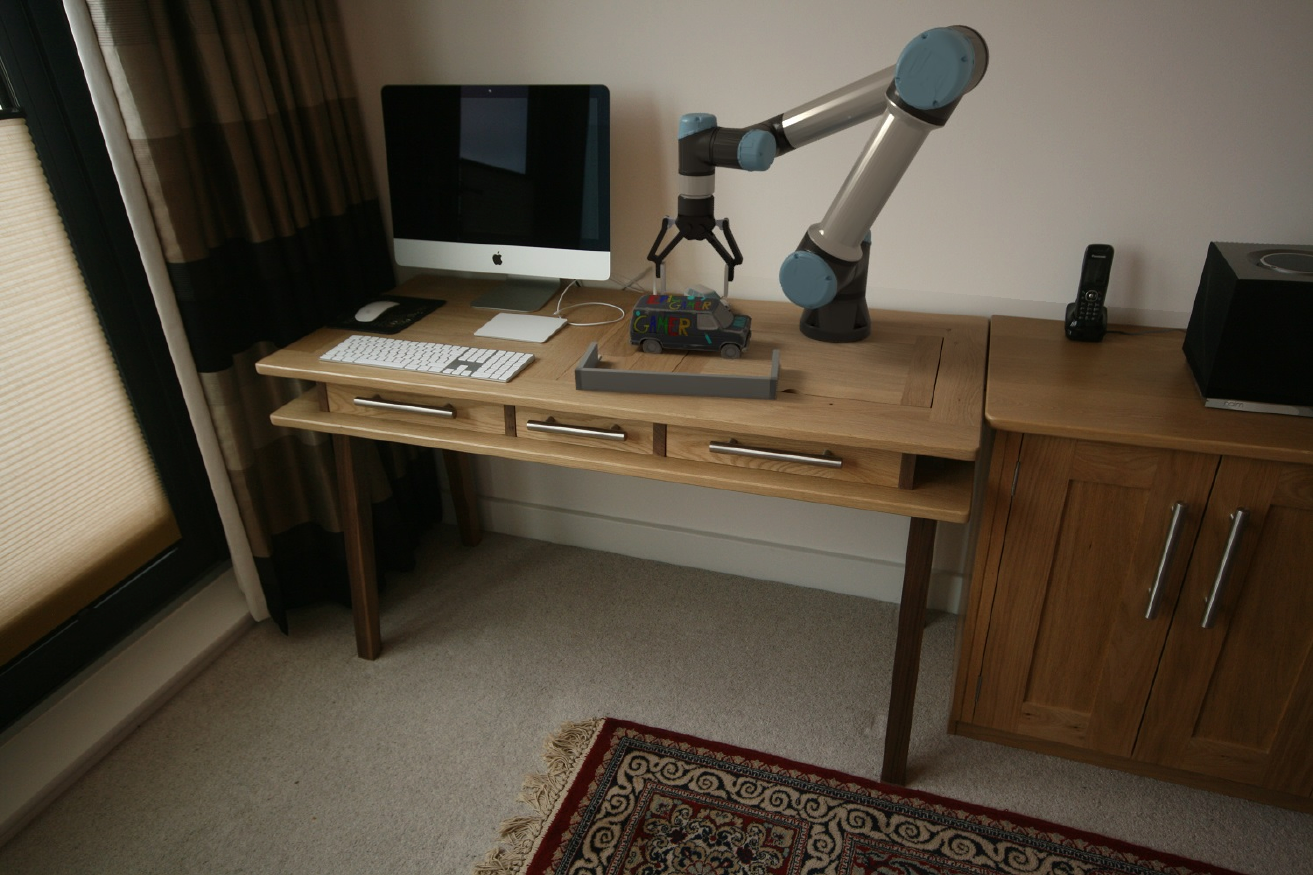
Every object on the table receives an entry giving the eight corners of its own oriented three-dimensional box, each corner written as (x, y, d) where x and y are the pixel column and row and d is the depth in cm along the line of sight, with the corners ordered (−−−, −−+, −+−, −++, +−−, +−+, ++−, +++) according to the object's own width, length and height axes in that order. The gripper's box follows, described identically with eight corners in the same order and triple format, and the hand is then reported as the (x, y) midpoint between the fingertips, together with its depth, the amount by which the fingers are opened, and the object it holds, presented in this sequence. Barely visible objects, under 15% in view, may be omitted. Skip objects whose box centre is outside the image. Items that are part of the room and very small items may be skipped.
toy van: (746, 361, 174) (748, 314, 170) (627, 353, 179) (625, 307, 175) (753, 341, 184) (754, 296, 179) (639, 334, 188) (638, 290, 184)
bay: (778, 364, 172) (779, 345, 170) (775, 399, 158) (776, 379, 156) (595, 355, 178) (594, 337, 176) (575, 389, 163) (574, 370, 161)
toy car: (713, 321, 195) (713, 300, 192) (681, 306, 204) (680, 285, 202) (733, 316, 198) (734, 295, 195) (700, 301, 207) (701, 281, 205)
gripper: (758, 192, 178) (753, 291, 188) (639, 188, 182) (640, 285, 192) (756, 200, 172) (751, 302, 182) (632, 196, 175) (634, 296, 185)
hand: (694, 294), depth 187 cm, fingers open, 13 cm apart
